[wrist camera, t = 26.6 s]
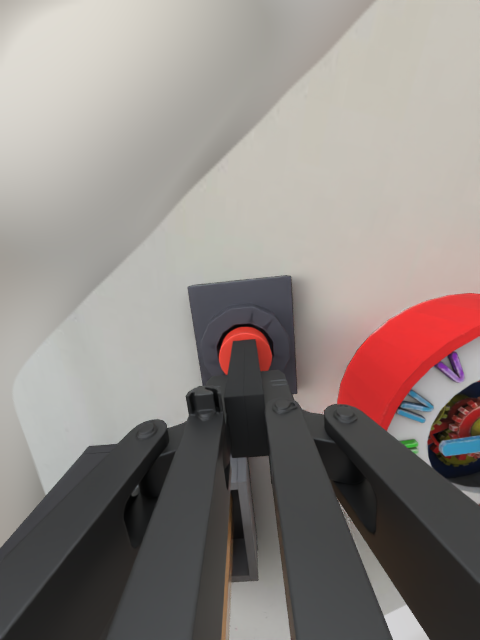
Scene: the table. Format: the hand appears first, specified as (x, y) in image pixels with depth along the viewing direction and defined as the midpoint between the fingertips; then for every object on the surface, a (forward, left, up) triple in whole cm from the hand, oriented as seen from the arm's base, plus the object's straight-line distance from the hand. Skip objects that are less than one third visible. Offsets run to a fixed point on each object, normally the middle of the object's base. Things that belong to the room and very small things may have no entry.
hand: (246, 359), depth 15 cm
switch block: (0, 0, -5) cm, 5 cm away
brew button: (0, 0, -2) cm, 2 cm away
